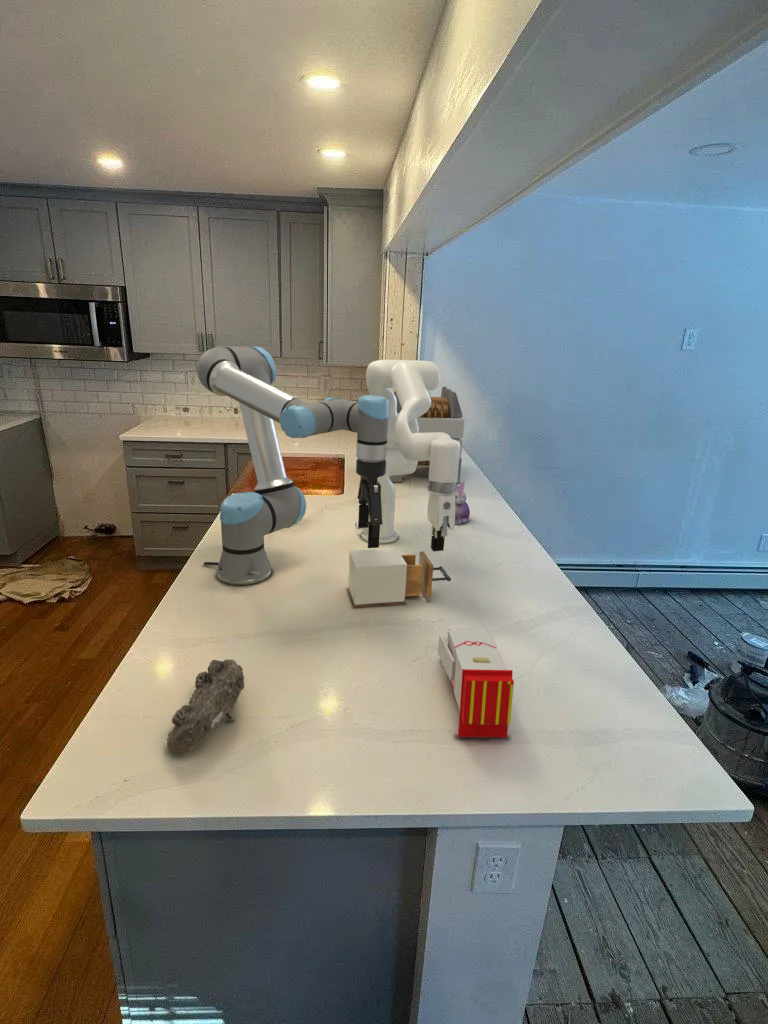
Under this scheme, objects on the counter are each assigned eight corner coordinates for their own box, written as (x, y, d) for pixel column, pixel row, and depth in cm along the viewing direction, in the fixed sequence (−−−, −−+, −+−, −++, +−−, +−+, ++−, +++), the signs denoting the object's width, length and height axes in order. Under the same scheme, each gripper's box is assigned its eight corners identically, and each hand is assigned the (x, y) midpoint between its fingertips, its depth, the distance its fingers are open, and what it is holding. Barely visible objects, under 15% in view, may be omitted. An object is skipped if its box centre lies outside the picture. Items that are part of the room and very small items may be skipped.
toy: (488, 613, 130) (523, 677, 101) (484, 667, 133) (517, 744, 104) (435, 612, 130) (455, 676, 101) (432, 666, 133) (451, 743, 103)
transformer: (382, 463, 289) (386, 382, 275) (445, 464, 293) (451, 384, 279) (390, 482, 257) (394, 392, 243) (460, 483, 261) (468, 394, 247)
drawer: (440, 581, 164) (442, 550, 161) (450, 596, 156) (453, 564, 152) (379, 584, 160) (381, 553, 157) (387, 600, 152) (389, 567, 148)
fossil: (192, 660, 117) (244, 628, 112) (224, 691, 120) (276, 661, 115) (142, 746, 98) (202, 712, 93) (182, 779, 101) (242, 748, 96)
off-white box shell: (395, 586, 162) (397, 548, 158) (404, 604, 153) (407, 564, 149) (348, 589, 159) (349, 550, 155) (354, 607, 150) (356, 567, 146)
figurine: (455, 526, 209) (459, 487, 204) (440, 517, 217) (443, 479, 212) (476, 523, 213) (480, 485, 208) (460, 514, 221) (464, 477, 216)
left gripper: (397, 472, 131) (392, 556, 139) (375, 446, 154) (372, 519, 162) (366, 473, 130) (362, 557, 137) (348, 446, 153) (346, 520, 160)
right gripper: (465, 494, 143) (459, 560, 149) (446, 477, 157) (441, 538, 163) (437, 495, 141) (432, 562, 147) (420, 478, 155) (416, 540, 161)
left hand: (368, 537), depth 149 cm, fingers open, 13 cm apart
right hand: (437, 549), depth 155 cm, fingers closed
